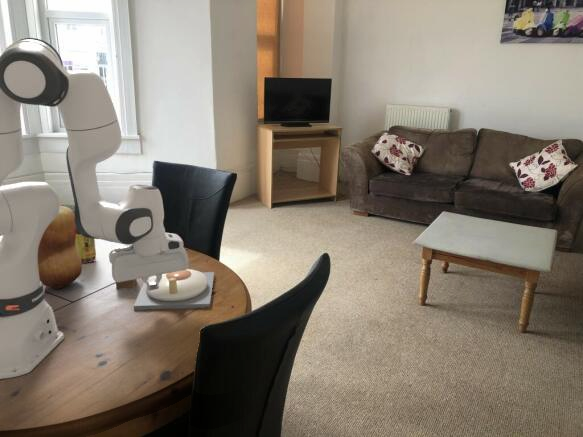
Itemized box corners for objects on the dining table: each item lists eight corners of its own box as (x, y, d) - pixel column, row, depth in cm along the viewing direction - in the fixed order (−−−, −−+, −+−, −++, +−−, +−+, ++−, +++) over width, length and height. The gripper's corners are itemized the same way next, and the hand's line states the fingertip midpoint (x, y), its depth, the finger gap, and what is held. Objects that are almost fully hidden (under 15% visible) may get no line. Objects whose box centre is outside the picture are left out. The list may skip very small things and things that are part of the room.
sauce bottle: (89, 264, 158) (82, 208, 152) (73, 263, 159) (65, 207, 153) (100, 257, 164) (94, 203, 158) (84, 255, 165) (77, 201, 159)
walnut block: (133, 288, 142) (131, 270, 141) (116, 289, 142) (114, 271, 140) (136, 281, 147) (135, 264, 145) (120, 281, 147) (118, 264, 145)
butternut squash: (86, 290, 141) (76, 211, 133) (36, 299, 135) (22, 217, 127) (82, 272, 152) (72, 198, 144) (35, 280, 146) (22, 204, 138)
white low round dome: (204, 300, 133) (204, 282, 131) (140, 302, 132) (138, 283, 130) (209, 273, 150) (208, 256, 148) (152, 274, 148) (150, 257, 147)
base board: (209, 307, 132) (209, 303, 132) (133, 309, 130) (133, 305, 130) (214, 275, 152) (214, 271, 152) (148, 276, 150) (148, 272, 150)
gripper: (109, 253, 119) (115, 301, 123) (188, 241, 128) (191, 286, 132) (106, 245, 124) (112, 291, 128) (182, 233, 133) (185, 277, 137)
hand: (152, 289), depth 130 cm, fingers closed
